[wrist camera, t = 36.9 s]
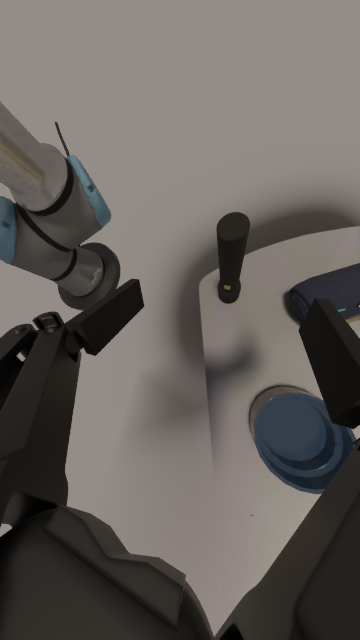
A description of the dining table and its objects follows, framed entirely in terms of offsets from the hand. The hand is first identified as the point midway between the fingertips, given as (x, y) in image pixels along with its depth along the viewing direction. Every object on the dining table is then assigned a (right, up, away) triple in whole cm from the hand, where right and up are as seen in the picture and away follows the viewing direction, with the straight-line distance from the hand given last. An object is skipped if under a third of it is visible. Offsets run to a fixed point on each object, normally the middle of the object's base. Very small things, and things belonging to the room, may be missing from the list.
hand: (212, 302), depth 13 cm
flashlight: (+10, +5, +29) cm, 31 cm away
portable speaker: (+34, +3, +22) cm, 40 cm away
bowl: (+20, -23, +20) cm, 37 cm away
